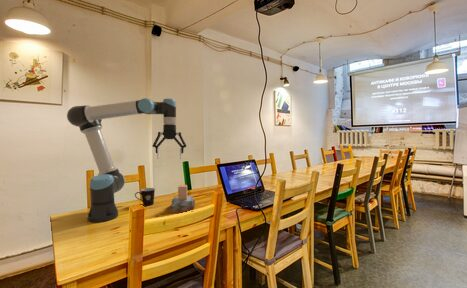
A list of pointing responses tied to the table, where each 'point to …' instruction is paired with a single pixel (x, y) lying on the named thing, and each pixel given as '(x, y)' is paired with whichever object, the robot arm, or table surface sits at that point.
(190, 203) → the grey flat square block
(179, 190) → the top brick
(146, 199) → the coffee mug
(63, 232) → the table surface
